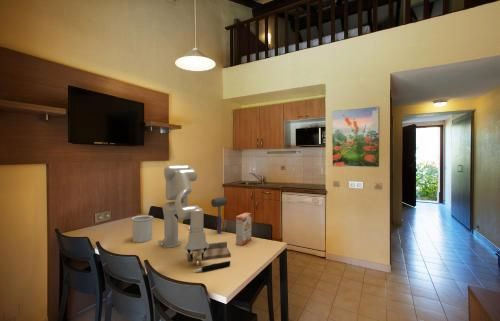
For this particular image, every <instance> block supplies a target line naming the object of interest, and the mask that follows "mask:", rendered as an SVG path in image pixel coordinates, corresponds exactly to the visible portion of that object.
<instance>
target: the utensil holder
mask: <svg viewBox="0 0 500 321" xmlns="http://www.w3.org/2000/svg"><path fill="white" fill-rule="evenodd" d="M153 219H154V216H153V215H138V216H134V217H132V218H131V221H132V222H131V224H132V243H136V244H137V243H146V242H149V241H151V240H152V239H153Z"/></svg>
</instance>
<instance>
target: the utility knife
mask: <svg viewBox="0 0 500 321" xmlns="http://www.w3.org/2000/svg"><path fill="white" fill-rule="evenodd" d="M230 265H231V261H230V260H228V261H223V262H222V261H221V262H217V263H216V262H215V263H212V264H207V265H203V266H201V267H200V268H198V269H192V271H193V272H203V273H205V272H209V271H212V270H213V271H214V270H218V269H221V268H227V267H230Z"/></svg>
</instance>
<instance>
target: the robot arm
mask: <svg viewBox="0 0 500 321" xmlns="http://www.w3.org/2000/svg"><path fill="white" fill-rule="evenodd" d="M163 176H164V179H165V194H164V195H165V199H166V200H167V201H166V202H165V203H164V204H163V206H162V212H163V223H164V226H163V227H164V228H163V230H164V232H163V233H164V238H163V239H159V240H157V243H158V244H160V245H161V244H162V248H169V249H170V248H171V249H172V248H176V247H179V246H180V245H181V241H180V240H179V220H180V221H181V220H182V221H183V220H188V219H190V223H189V225H190V226H189V227H188V228H187V231H189V232H188V238H187V240H188V242H187V243H186V245H185V246H184V248H183V249H184V250H185V251H186V252H187V253H188V252H189V253H190V259H191V260H192V261H193V253H192V252H193V250H197V249H201V250H202V261H204V260H203V258H204V252H205V251H206V249H207V248H209V244H210V243H208V242H207V240H206V238H207V237H206V232H205V230H204V209H203V208H201V207H200V206H199V205H189V204H188V201H189V200H188V199H189V195H190V194H191V193H192V192H193V186H192V182H195V181H197V179H198V173H197V171H196V169H195V168H193V167H192V166H190V165H188V164H172V165H170V164H169V165H166V166H165V167H164V170H163ZM175 215H176V216H175ZM178 219H179V220H178ZM188 248H189V249H188Z"/></svg>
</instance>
